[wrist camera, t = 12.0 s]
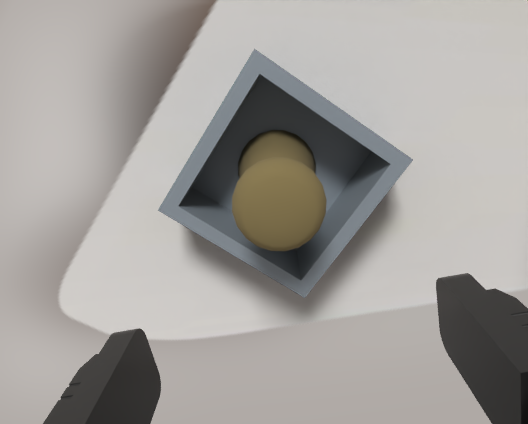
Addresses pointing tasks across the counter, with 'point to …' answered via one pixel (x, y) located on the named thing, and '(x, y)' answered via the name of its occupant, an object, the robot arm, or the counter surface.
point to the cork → (278, 192)
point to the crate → (327, 170)
